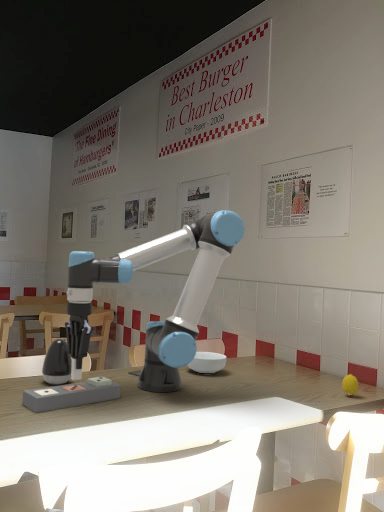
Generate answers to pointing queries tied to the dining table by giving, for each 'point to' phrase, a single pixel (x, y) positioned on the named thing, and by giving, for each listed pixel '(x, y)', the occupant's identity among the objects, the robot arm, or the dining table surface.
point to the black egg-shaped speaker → (57, 363)
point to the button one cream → (46, 392)
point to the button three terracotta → (73, 388)
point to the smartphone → (135, 373)
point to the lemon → (350, 384)
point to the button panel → (69, 396)
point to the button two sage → (99, 382)
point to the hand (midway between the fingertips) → (76, 379)
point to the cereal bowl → (207, 362)
